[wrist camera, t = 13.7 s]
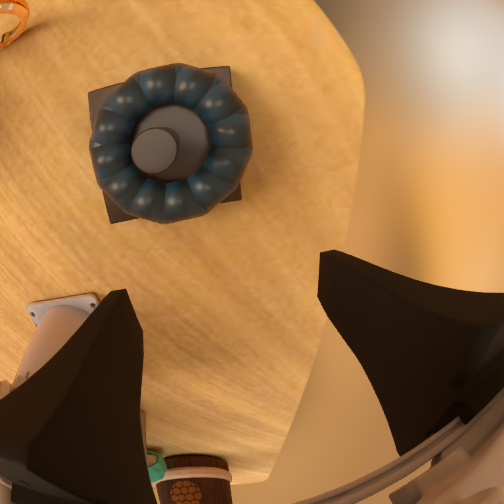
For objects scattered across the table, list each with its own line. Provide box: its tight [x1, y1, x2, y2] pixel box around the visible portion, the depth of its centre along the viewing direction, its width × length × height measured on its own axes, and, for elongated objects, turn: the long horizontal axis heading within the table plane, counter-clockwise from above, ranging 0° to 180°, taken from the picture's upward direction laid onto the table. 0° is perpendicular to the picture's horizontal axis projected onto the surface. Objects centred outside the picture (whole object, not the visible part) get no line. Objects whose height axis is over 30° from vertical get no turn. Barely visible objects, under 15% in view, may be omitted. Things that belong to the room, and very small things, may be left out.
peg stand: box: [88, 66, 242, 224], centre depth 13 cm, size 9×9×7 cm
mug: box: [151, 456, 232, 504], centre depth 31 cm, size 20×15×15 cm
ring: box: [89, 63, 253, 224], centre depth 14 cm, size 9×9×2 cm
